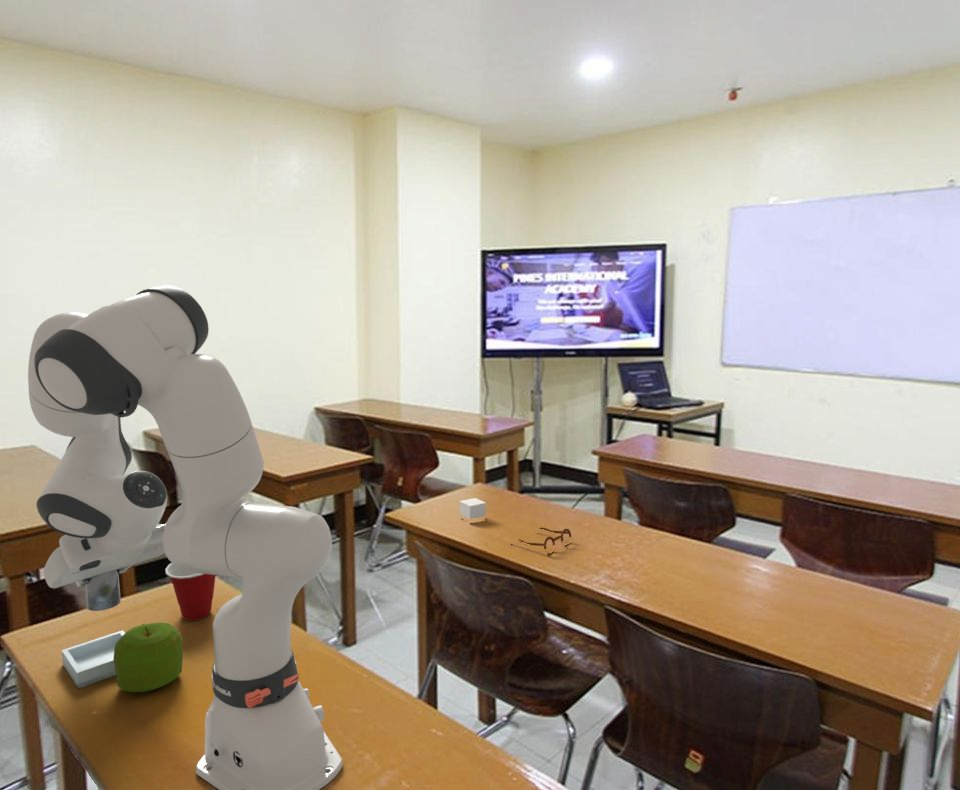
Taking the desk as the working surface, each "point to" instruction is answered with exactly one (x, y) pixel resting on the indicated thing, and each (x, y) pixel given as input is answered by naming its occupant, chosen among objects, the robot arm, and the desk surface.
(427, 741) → the desk surface
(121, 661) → the apple
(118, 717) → the desk surface
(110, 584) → the tin
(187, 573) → the plastic cup
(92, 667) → the tray
